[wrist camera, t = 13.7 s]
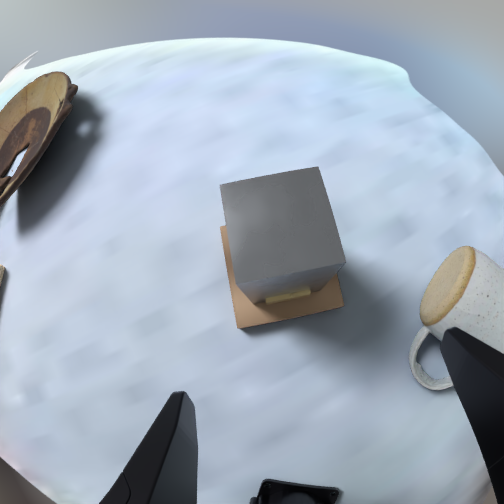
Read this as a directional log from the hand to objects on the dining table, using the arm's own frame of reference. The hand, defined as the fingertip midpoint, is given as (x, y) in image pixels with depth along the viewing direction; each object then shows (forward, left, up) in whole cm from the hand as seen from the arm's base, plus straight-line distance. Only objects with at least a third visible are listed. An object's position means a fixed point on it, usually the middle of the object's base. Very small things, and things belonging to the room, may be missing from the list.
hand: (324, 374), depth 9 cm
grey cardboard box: (+3, -6, -12) cm, 14 cm away
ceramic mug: (-13, -4, -14) cm, 19 cm away
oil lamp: (+43, -15, -14) cm, 47 cm away
